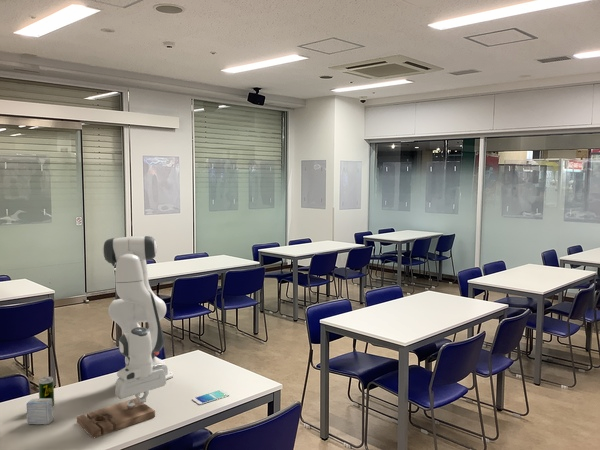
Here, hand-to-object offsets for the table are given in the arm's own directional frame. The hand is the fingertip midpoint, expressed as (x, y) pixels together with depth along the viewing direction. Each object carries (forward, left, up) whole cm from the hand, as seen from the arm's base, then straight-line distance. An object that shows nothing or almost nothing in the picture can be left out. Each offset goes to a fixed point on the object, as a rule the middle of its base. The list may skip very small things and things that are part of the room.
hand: (141, 402), depth 201 cm
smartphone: (-28, +8, -4) cm, 29 cm away
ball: (+5, 0, -1) cm, 5 cm away
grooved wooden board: (+10, 0, -4) cm, 11 cm away
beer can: (+26, -30, -4) cm, 40 cm away
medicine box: (+32, -18, -4) cm, 37 cm away
